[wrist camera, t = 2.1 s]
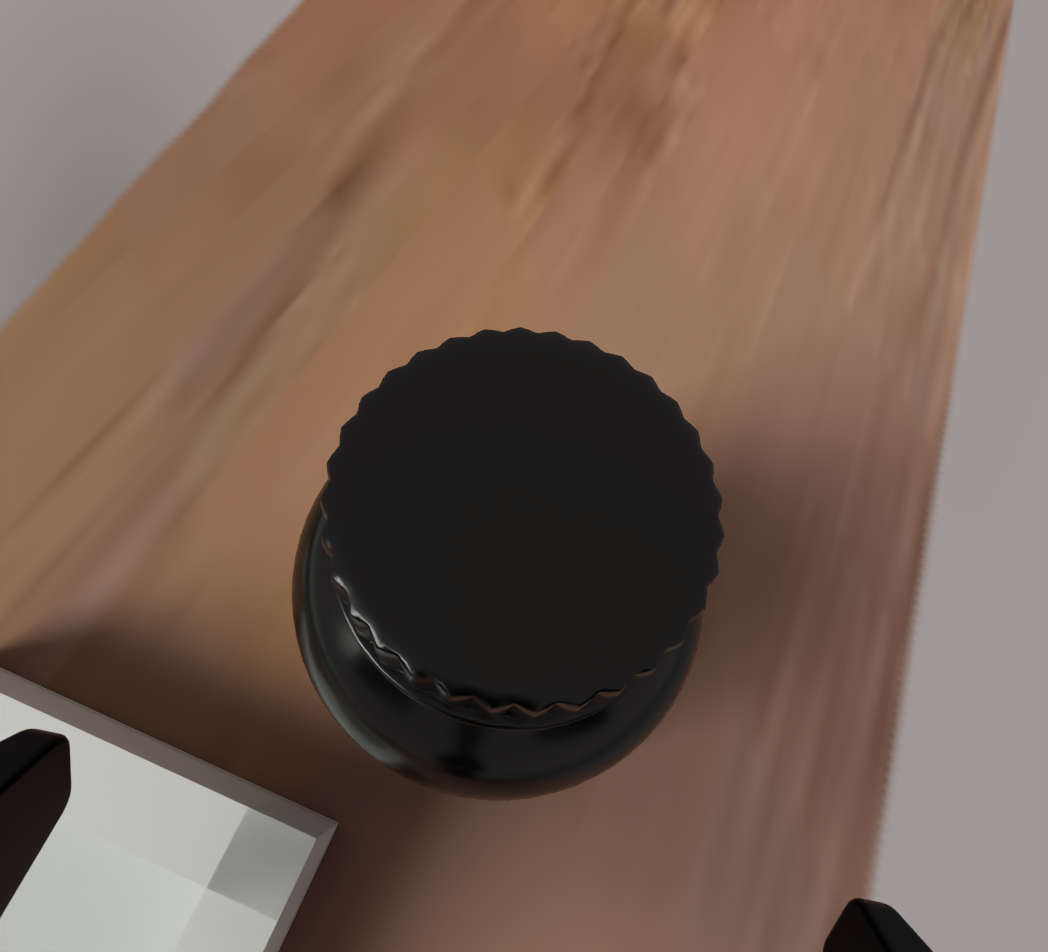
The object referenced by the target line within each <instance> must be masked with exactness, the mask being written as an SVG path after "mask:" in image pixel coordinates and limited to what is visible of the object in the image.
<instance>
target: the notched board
mask: <svg viewBox="0 0 1048 952" xmlns="http://www.w3.org/2000/svg"><path fill="white" fill-rule="evenodd" d="M26 729H40V730H45V731H50V732H54V733H59V734H63V735H65V736H66V737H67V739H68V740H69V744H70V761H71V794H70V798H69V801H68V803H67V806H66V808H65V810H64V812H63V814H62V815H61V817H60V819H59V820H58V822H57V824H56V826H55V827H54V829H53V831H52V832H51V834H50V836H49V837H48V839H47V841H46V842H45V844H44V846H43V847H42V849H41V851H40V852H39V854H38V856H37V858H36V859H35V861H34V863H33V864H32V866H31V868H30V869H29V871H28V873H27V874H26V876H25V878H24V879H23V881H22V883H21V884H20V886H19V888H18V889H17V891H16V893H15V895H14V896H13V898H12V900H11V901H10V903H9V905H8V906H7V908H6V910H5V911H4V913H3V915H2V916H1V918H0V952H279V950H280V948H281V945H282V943H283V941H284V939H285V937H286V935H287V933H288V931H289V928H290V926H291V924H292V922H293V920H294V918H295V916H296V913H297V911H298V909H299V907H300V905H301V903H302V901H303V898H304V896H305V894H306V892H307V890H308V888H309V886H310V883H311V881H312V879H313V877H314V875H315V873H316V871H317V869H318V866H319V864H320V862H321V860H322V858H323V856H324V854H325V851H326V849H327V847H328V845H329V843H330V841H331V839H332V836H333V834H334V832H335V830H336V828H337V826H338V824H339V822H336V821H334V820H332V819H330V818H328V817H326V816H323V815H321V814H319V813H317V812H315V811H312V810H310V809H308V808H306V807H304V806H302V805H299V804H297V803H295V802H293V801H291V800H289V799H286V798H284V797H282V796H280V795H278V794H275V793H273V792H271V791H269V790H267V789H265V788H262V787H260V786H258V785H256V784H254V783H251V782H249V781H247V780H245V779H243V778H241V777H238V776H236V775H234V774H232V773H230V772H228V771H225V770H223V769H221V768H219V767H217V766H214V765H212V764H210V763H208V762H206V761H204V760H201V759H199V758H197V757H195V756H193V755H190V754H188V753H186V752H184V751H182V750H180V749H177V748H175V747H173V746H171V745H169V744H167V743H164V742H162V741H160V740H158V739H156V738H153V737H151V736H149V735H147V734H145V733H143V732H140V731H138V730H136V729H134V728H132V727H129V726H127V725H125V724H123V723H121V722H119V721H116V720H114V719H112V718H110V717H108V716H106V715H103V714H101V713H99V712H97V711H95V710H92V709H90V708H88V707H86V706H84V705H82V704H79V703H77V702H75V701H73V700H71V699H68V698H66V697H64V696H62V695H60V694H58V693H55V692H53V691H51V690H49V689H47V688H45V687H42V686H40V685H38V684H36V683H34V682H31V681H29V680H27V679H25V678H23V677H21V676H18V675H16V674H14V673H12V672H10V671H7V670H5V669H3V668H1V667H0V741H2V740H4V739H6V738H8V737H10V736H12V735H14V734H16V733H18V732H20V731H23V730H26Z"/></svg>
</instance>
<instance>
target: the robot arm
mask: <svg viewBox="0 0 1048 952" xmlns="http://www.w3.org/2000/svg"><path fill="white" fill-rule="evenodd" d="M70 794H71V761H70V744H69V740H68V739H67V737H66V736H65V735H63V734H59V733H54V732H50V731H45V730H40V729H26V730H23V731H20V732H18V733H16V734H14V735H12V736H10V737H8V738H6V739H4V740H2V741H0V918H1V916H2V915H3V913H4V911H5V910H6V908H7V906H8V905H9V903H10V901H11V900H12V898H13V896H14V895H15V893H16V891H17V889H18V888H19V886H20V884H21V883H22V881H23V879H24V878H25V876H26V874H27V873H28V871H29V869H30V868H31V866H32V864H33V863H34V861H35V859H36V858H37V856H38V854H39V852H40V851H41V849H42V847H43V846H44V844H45V842H46V841H47V839H48V837H49V836H50V834H51V832H52V831H53V829H54V827H55V826H56V824H57V822H58V820H59V819H60V817H61V815H62V814H63V812H64V810H65V808H66V806H67V803H68V801H69V798H70ZM823 952H933V951H932V950H931V949H930V948H929V947H928V946H927V945H926V944H925V942H924V941H923V940H922V939H921V938H920V937H919V936H918V935H917V933H916V932H915V931H914V930H913V929H912V928H911V927H910V926H909V925H908V924H907V922H906V921H905V920H904V919H903V918H902V917H901V916H900V915H899V913H897V912H896V911H895V910H894V909H893V908H892V907H891V906H889V905H887V904H884V903H880V902H876V901H871V900H866V899H861V898H855V899H853V900H851V901H849V902H848V904H847V905H846V907H845V908H844V910H843V912H842V913H841V915H840V917H839V918H838V920H837V922H836V923H835V925H834V927H833V928H832V930H831V932H830V933H829V935H828V937H827V938H826V941H825V944H824V947H823Z"/></svg>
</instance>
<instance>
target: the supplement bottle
mask: <svg viewBox="0 0 1048 952" xmlns="http://www.w3.org/2000/svg"><path fill="white" fill-rule="evenodd" d="M327 473H328V480H327V481H326V483H325V484H324V486H323V488H322V489H321V491H320V493H319V494H318V496H317V498H316V499H315V501H314V503H313V506H312V508H311V510H310V512H309V514H308V516H307V519H306V522H305V525H304V527H303V530H302V533H301V536H300V540H299V544H298V548H297V552H296V557H295V564H294V571H293V580H292V607H293V620H294V626H295V631H296V637H297V642H298V645H299V649H300V652H301V656H302V659H303V662H304V664H305V667H306V669H307V672H308V674H309V677H310V679H311V681H312V683H313V685H314V687H315V689H316V691H317V693H318V695H319V696H320V698H321V700H322V702H323V703H324V704H325V706H326V707H327V709H328V710H329V712H330V713H331V715H332V716H333V718H334V719H335V720H336V721H337V722H338V724H339V725H340V726H341V727H342V728H343V730H344V731H345V732H346V733H347V734H348V735H349V736H350V737H351V738H352V739H353V740H354V741H355V742H356V743H357V744H358V745H359V746H360V747H361V748H362V749H363V750H364V751H365V752H367V753H368V754H369V755H371V756H372V757H373V758H375V759H376V760H377V761H378V762H380V763H381V764H382V765H384V766H386V767H387V768H389V769H390V770H392V771H394V772H395V773H397V774H399V775H400V776H402V777H404V778H406V779H408V780H411V781H413V782H415V783H417V784H419V785H421V786H424V787H427V788H430V789H433V790H436V791H439V792H442V793H446V794H451V795H455V796H459V797H464V798H472V799H481V800H517V799H526V798H533V797H538V796H542V795H547V794H551V793H555V792H558V791H561V790H564V789H567V788H570V787H573V786H576V785H578V784H580V783H583V782H585V781H587V780H589V779H591V778H594V777H596V776H597V775H599V774H601V773H602V772H604V771H606V770H607V769H609V768H611V767H613V766H614V765H615V764H617V763H618V762H619V761H621V760H622V759H623V758H625V757H626V756H627V755H629V754H630V753H631V752H632V751H633V750H635V749H636V748H637V747H638V746H639V745H640V744H641V743H642V742H643V741H644V740H645V739H646V738H647V737H648V736H649V735H650V734H651V733H652V732H653V730H654V729H655V728H656V727H657V726H658V725H659V724H660V722H661V721H662V719H663V718H664V717H665V715H666V714H667V712H668V711H669V710H670V708H671V707H672V705H673V703H674V702H675V700H676V698H677V696H678V694H679V693H680V691H681V689H682V687H683V685H684V682H685V680H686V678H687V676H688V673H689V671H690V669H691V666H692V663H693V660H694V656H695V653H696V650H697V646H698V641H699V637H700V632H701V625H702V616H703V611H704V609H705V605H706V597H707V587H708V586H709V585H710V584H711V583H712V582H713V580H714V579H715V578H716V576H717V575H718V573H719V572H718V560H717V553H716V552H717V550H718V548H719V547H720V545H721V543H722V540H723V538H724V533H723V529H722V526H721V523H720V520H719V517H718V515H719V510H720V508H721V503H722V498H721V495H720V493H719V491H718V489H717V488H716V486H715V484H714V482H713V473H714V470H713V463H712V461H711V460H710V459H709V457H708V456H707V455H706V454H705V452H704V451H703V450H702V449H701V445H700V437H699V433H698V431H697V430H696V429H695V428H694V427H693V426H692V425H691V424H690V423H689V422H688V421H686V420H685V419H684V418H683V415H682V412H681V409H680V407H679V405H678V403H677V401H675V400H674V399H672V398H671V397H669V396H667V395H666V394H664V393H662V392H661V391H660V389H659V388H658V386H657V384H656V382H655V381H654V380H653V378H652V377H651V376H648V375H646V374H644V373H642V372H639V371H636V370H634V369H633V367H632V366H631V365H630V364H629V363H628V362H627V361H626V360H625V359H624V358H623V357H622V356H618V355H614V354H610V353H605V352H603V351H602V350H600V349H599V348H598V347H597V346H596V345H594V344H593V343H591V342H590V341H580V340H570V339H568V338H566V337H565V336H564V335H562V334H560V333H558V332H544V333H535V332H532V331H530V330H528V329H524V328H521V327H520V328H515V329H511V330H508V331H505V332H500V331H495V330H486V329H485V330H482V331H480V332H478V333H476V334H475V335H473V336H471V337H455V338H449V339H448V340H446V341H445V342H444V343H442V345H441V346H439V347H438V348H436V349H429V350H424V351H420V352H417V353H416V354H415V355H414V356H413V357H412V358H411V360H410V362H409V363H408V364H407V365H405V366H402V367H398V368H396V369H393V370H391V371H389V372H387V374H386V375H385V377H384V378H383V380H382V382H381V384H380V386H379V387H378V388H376V389H374V390H373V391H371V392H369V393H368V394H366V395H364V396H363V397H362V398H361V401H360V403H359V408H358V411H357V414H356V415H355V416H353V417H352V418H351V419H350V420H349V421H347V422H346V423H345V424H344V425H343V426H342V427H341V433H340V446H339V447H338V448H337V449H336V451H335V452H334V453H333V454H332V456H331V457H330V459H329V460H328V461H327Z"/></svg>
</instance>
